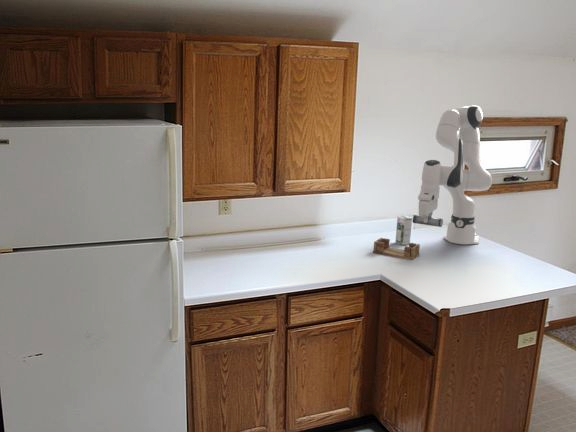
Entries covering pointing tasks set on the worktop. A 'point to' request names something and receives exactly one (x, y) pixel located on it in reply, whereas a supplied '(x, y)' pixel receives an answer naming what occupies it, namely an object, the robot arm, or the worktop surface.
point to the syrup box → (403, 230)
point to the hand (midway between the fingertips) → (427, 221)
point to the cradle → (408, 253)
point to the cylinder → (431, 221)
